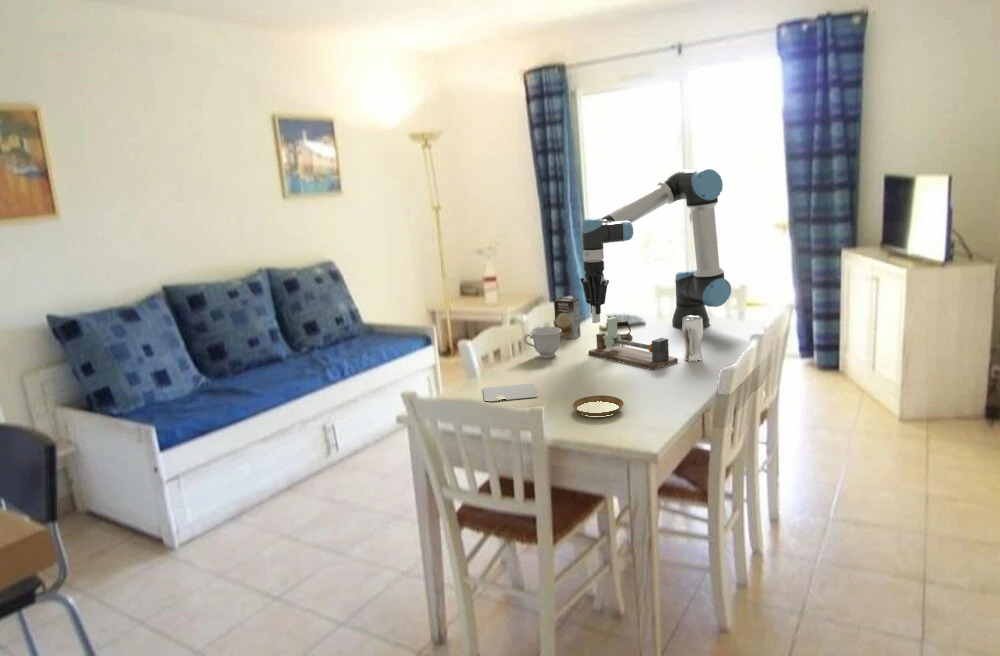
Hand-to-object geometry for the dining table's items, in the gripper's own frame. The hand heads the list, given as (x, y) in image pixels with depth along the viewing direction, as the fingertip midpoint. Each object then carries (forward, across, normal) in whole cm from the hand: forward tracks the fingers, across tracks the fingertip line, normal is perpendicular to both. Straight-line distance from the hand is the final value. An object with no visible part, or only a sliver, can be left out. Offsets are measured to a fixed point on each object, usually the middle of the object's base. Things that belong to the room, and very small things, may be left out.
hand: (596, 322), depth 259 cm
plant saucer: (+12, +46, -46) cm, 66 cm away
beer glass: (+11, +35, +12) cm, 39 cm away
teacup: (+12, -11, -18) cm, 24 cm away
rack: (+11, +17, 0) cm, 20 cm away
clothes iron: (+12, -5, +16) cm, 20 cm away
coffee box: (+12, -25, +8) cm, 29 cm away
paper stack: (+12, +11, -47) cm, 50 cm away
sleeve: (+8, +8, 0) cm, 11 cm away
